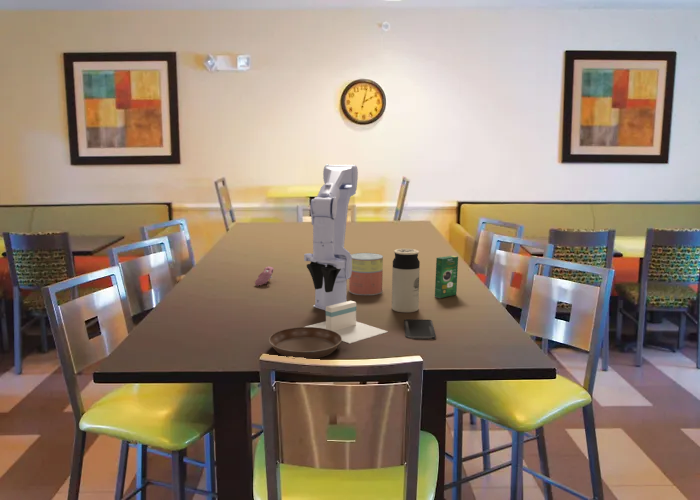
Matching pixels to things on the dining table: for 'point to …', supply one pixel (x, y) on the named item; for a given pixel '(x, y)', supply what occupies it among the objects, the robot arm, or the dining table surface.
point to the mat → (354, 331)
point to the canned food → (366, 274)
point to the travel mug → (405, 280)
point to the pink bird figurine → (264, 276)
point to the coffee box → (446, 276)
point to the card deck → (340, 315)
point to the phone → (419, 329)
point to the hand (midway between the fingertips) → (323, 290)
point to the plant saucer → (305, 342)
